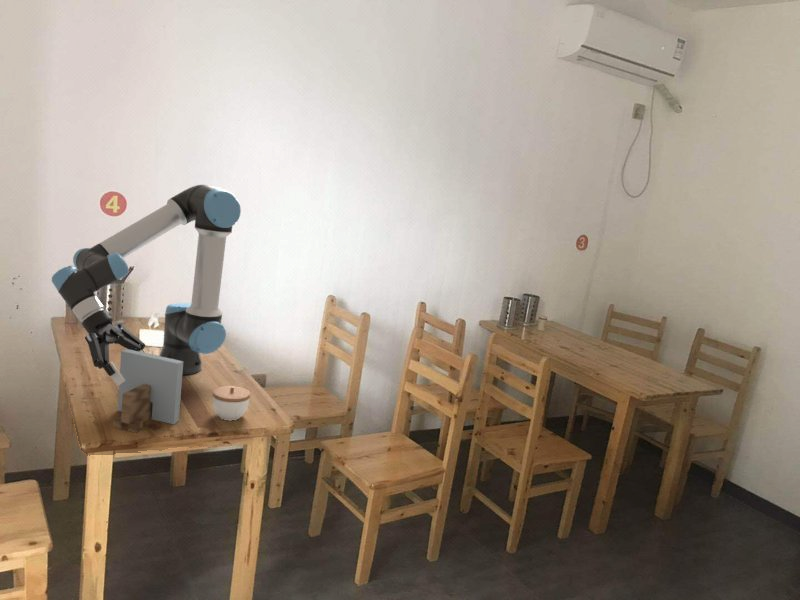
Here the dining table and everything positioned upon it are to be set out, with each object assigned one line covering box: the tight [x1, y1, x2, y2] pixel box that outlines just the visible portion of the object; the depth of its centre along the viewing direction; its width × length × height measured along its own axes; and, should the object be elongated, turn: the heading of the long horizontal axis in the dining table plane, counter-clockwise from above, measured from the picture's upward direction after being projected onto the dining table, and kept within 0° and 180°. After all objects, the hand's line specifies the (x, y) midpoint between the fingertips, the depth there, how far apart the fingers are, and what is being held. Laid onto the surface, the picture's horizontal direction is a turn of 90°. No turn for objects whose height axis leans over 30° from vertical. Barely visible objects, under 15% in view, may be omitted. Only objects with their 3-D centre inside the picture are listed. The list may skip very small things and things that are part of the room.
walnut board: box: [112, 384, 182, 433], centre depth 185 cm, size 22×7×10 cm, turn 167°
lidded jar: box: [212, 385, 251, 422], centre depth 193 cm, size 11×11×9 cm
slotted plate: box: [117, 348, 183, 425], centre depth 184 cm, size 18×2×18 cm, turn 77°
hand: (137, 376), depth 185 cm, fingers open, 13 cm apart
